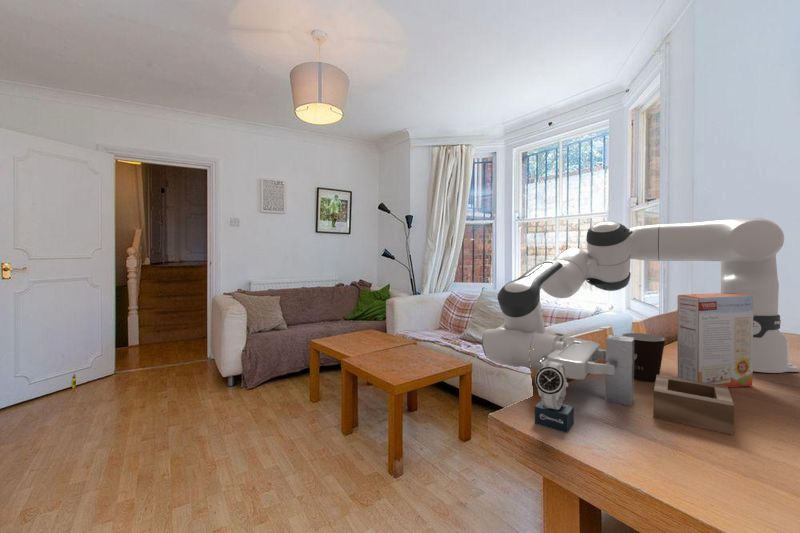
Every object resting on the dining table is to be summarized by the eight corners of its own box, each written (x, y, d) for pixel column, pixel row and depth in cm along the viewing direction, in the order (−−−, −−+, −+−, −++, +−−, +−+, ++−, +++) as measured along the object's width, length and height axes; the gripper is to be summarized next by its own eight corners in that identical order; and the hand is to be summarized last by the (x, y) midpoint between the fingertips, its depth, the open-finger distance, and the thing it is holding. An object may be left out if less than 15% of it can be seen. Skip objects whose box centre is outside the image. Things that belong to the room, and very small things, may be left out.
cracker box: (726, 377, 87) (728, 292, 86) (753, 387, 81) (756, 294, 80) (674, 380, 85) (676, 293, 84) (698, 390, 79) (700, 296, 78)
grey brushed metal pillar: (609, 393, 78) (609, 334, 78) (633, 398, 75) (634, 337, 75) (605, 400, 74) (606, 338, 74) (631, 406, 72) (632, 341, 71)
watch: (530, 427, 64) (531, 366, 63) (545, 411, 70) (545, 355, 69) (564, 437, 60) (565, 372, 60) (576, 419, 66) (577, 361, 66)
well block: (656, 397, 75) (656, 374, 75) (726, 411, 69) (727, 386, 68) (653, 417, 67) (653, 390, 67) (733, 435, 60) (734, 405, 60)
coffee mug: (671, 384, 83) (672, 341, 82) (630, 382, 85) (631, 340, 84) (647, 368, 94) (648, 331, 94) (611, 366, 96) (612, 329, 96)
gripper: (534, 349, 75) (610, 361, 66) (560, 332, 91) (623, 339, 83) (534, 379, 75) (610, 394, 67) (559, 356, 91) (623, 366, 83)
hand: (617, 364), depth 75 cm, fingers open, 8 cm apart
